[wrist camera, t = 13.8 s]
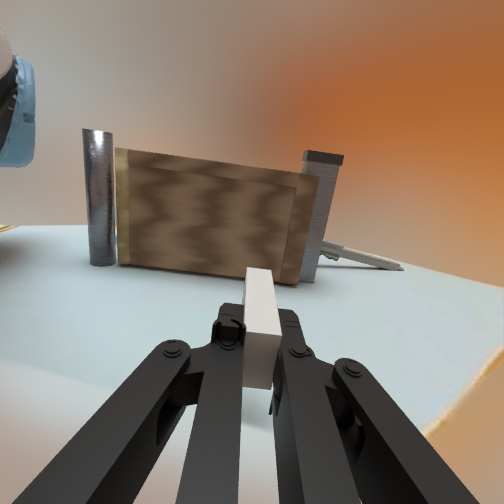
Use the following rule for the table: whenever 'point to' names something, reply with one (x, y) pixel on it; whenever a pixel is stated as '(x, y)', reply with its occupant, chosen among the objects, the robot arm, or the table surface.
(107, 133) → the hinge post
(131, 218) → the gate
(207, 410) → the robot arm
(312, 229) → the post
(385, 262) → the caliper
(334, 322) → the table surface
